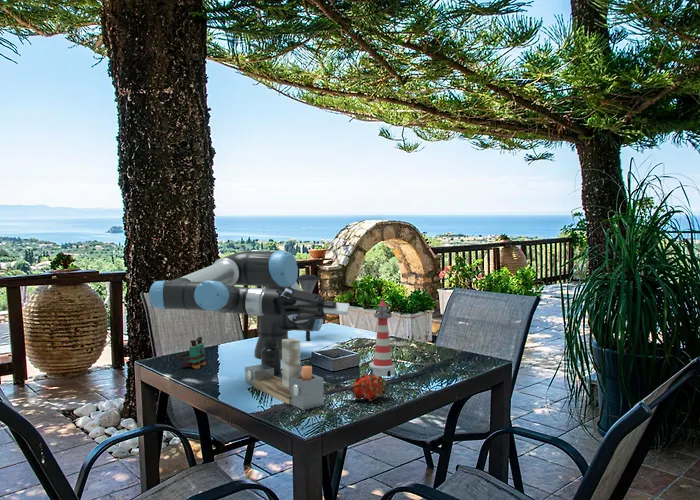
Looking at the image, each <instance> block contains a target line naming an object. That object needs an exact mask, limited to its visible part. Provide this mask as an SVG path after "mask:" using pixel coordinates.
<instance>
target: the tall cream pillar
mask: <svg viewBox="0 0 700 500" xmlns="http://www.w3.org/2000/svg"><path fill="white" fill-rule="evenodd" d="M298 375H301V340H300V339H299V338H294V337H292V338H289V339H283V340H282V358H281V379H282V383H280V384H276V389H277V390H279V391H281V392H284V393H286V394H288V395H290V377H292V376H298Z"/></svg>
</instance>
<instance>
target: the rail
mask: <svg viewBox="0 0 700 500" xmlns="http://www.w3.org/2000/svg"><path fill="white" fill-rule="evenodd" d="M280 383H282V377H279V376H273V379H269V380H263V381H258V380H254V386H253V388H255V389H256V390H259V391H261V392H263V393H265V394H267V395H270V396H271V397H273V398H275V399H277V400H279V401H281V402H284V403H285V404H287V405H291V404H290V395H288V394H286V393H284V392H281V391H279V390H277V389H276V384H280Z"/></svg>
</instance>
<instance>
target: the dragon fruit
mask: <svg viewBox="0 0 700 500" xmlns="http://www.w3.org/2000/svg"><path fill="white" fill-rule="evenodd" d="M371 374H372V375H371ZM387 385H388V384H387V380H385V379H383V378H382V377H381V376H375V375H374V374H373V373H371V372H370V374H368V375H367V374H365V373H364V374H362V375H361V376H359V377H357V378H356V379H355V382H354V383H353V384H352V386H351V387H350V388H349V389H348V391H349V393H351V392H352V393H353V398H354V399H356V398H357V399H356V400H360V399H361V398H363V399H366V400H368V401H371V402H373V401H374V399H376V398H378V399H379V397H381V396H385V395H386V393H385V392H386V391H387ZM372 398H373V399H372Z"/></svg>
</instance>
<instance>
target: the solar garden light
mask: <svg viewBox="0 0 700 500" xmlns="http://www.w3.org/2000/svg"><path fill="white" fill-rule="evenodd" d="M320 280H321V277H318V276H317V275H315V274H301V275H299V276H297V280H296V281H297V282H299V286H300V288H301V290H302V291H304V292H309V293H313V291H314V289H315V286H316V284H317V282H318V281H320ZM305 341H307V342H309V341H311V331H305Z"/></svg>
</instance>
